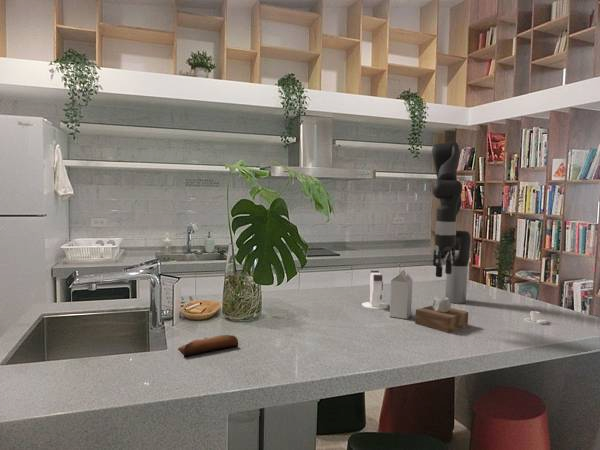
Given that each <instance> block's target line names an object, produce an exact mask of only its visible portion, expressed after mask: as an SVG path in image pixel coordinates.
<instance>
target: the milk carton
mask: <svg viewBox="0 0 600 450" xmlns="http://www.w3.org/2000/svg"><path fill="white" fill-rule="evenodd" d="M389 298H390V299H389V300H390V301H389V317H393V318H397V319H404V320H408V319H409V317H411V316H412V305H413V304H412V302H413V301H412V300H413V278H411V275H410V274H409V273H408V272H406V268H405V269H404V268H403V269H401V270H400V271H399V274H397V276H395V277H394V278H392V279H391V280H390V297H389Z"/></svg>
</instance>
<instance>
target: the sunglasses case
mask: <svg viewBox="0 0 600 450" xmlns="http://www.w3.org/2000/svg"><path fill="white" fill-rule="evenodd" d="M238 346H239V340H238V337H237V336H235V335H230V334H220V335H215V336H212V337H211V336H210V337H204V338H202V339H199V338H197V339H195V340H191V341H190V342H188V343H186V344H183V345H181V346H180V347H178V348H177V349H178V350H179V351H180V352H181V353H182V354H183V355H184V356H183V355H182V354H181V353H180V352H179V351H178V350H177V351H178V352H179V353H180V354H181V355H182V356H183V358H186V357H189V356H192V355H198V354H202V353H204V352H208V351H214V350H218V349H224V348H225V349H226V348H230V347H238Z"/></svg>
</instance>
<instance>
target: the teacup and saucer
mask: <svg viewBox="0 0 600 450" xmlns="http://www.w3.org/2000/svg"><path fill="white" fill-rule="evenodd" d="M529 314H530V317H526V318H524V319H523V320H524V322H528V323H530V324H531V323H532V324H534V325H535V324H536V325H544V324H545V325H546V324H547V323H548V321H547V320H546V319H540V311H536V310H532V311H530V312H529ZM530 320H531V321H530Z"/></svg>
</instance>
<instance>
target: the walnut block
mask: <svg viewBox="0 0 600 450" xmlns="http://www.w3.org/2000/svg"><path fill="white" fill-rule="evenodd" d="M414 321H415V322H414V324H415V325H419V326H422V327H424V328H425V327H426V328H427V329H428V328H429V329H432V330H436V331H439V332H442V333H445V334H448V333H451V332H454V331H457V330H460V329H463V328H466V327H468V326H469V311H465V310H461V309H456V308H452V307H450V310H449V311H448V312H437V311H435V310H434V308H433V304H432V305H428V306H426V307H421V308H417V309H415V319H414Z"/></svg>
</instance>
